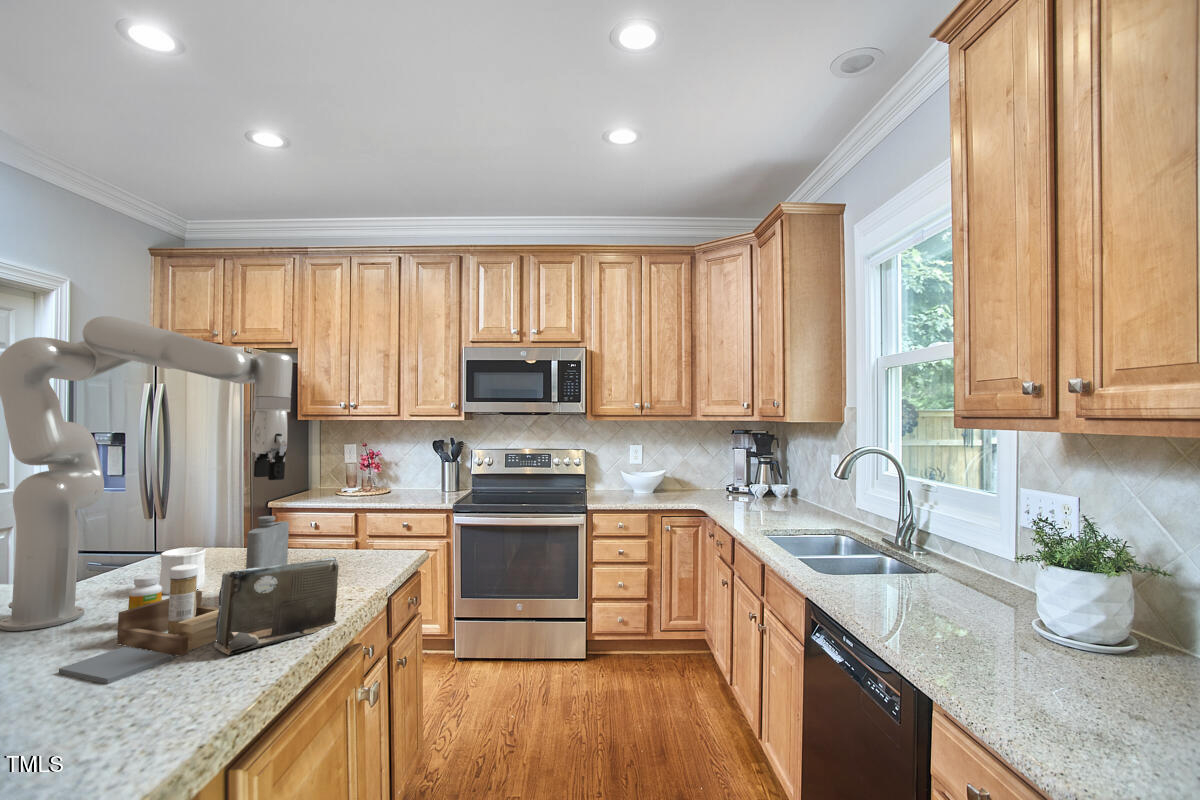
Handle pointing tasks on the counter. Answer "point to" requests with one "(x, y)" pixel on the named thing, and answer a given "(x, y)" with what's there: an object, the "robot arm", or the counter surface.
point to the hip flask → (267, 543)
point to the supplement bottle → (145, 591)
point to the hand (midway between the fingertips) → (268, 478)
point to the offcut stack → (199, 629)
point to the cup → (181, 558)
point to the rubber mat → (115, 664)
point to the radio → (275, 604)
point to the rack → (154, 627)
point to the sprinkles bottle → (182, 595)
